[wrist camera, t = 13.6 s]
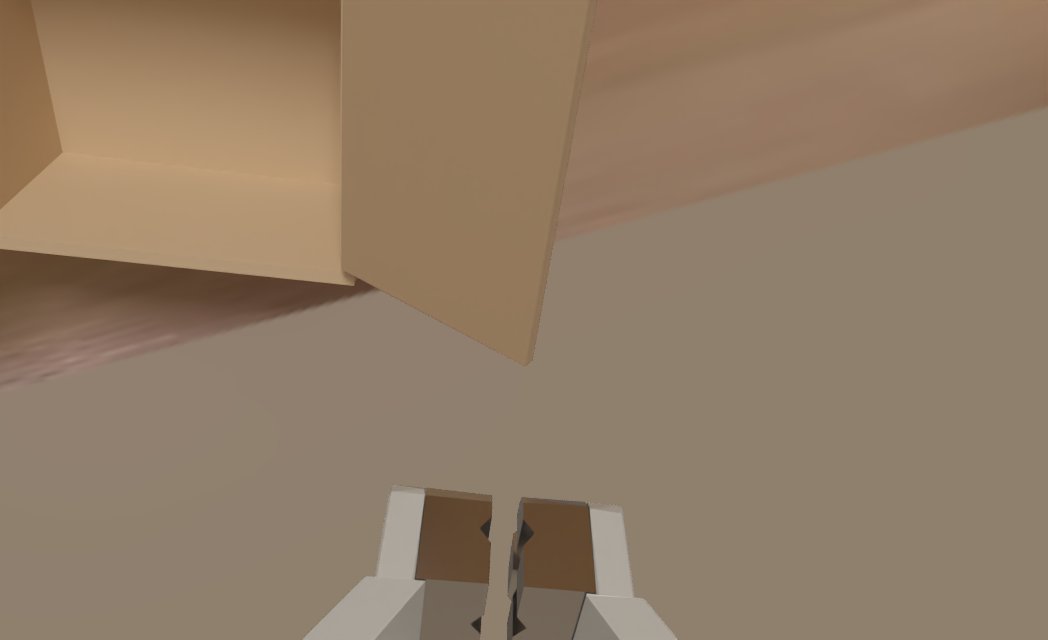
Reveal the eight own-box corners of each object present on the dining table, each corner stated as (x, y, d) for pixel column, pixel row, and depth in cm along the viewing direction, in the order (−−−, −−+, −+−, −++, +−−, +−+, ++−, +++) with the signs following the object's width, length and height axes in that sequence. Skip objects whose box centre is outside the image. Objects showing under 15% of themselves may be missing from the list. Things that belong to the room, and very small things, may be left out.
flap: (525, 366, 24) (532, 360, 25) (592, -18, 18) (600, -21, 18) (341, 269, 27) (349, 264, 28) (343, -91, 21) (354, -92, 21)
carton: (393, -162, 27) (361, -136, 21) (380, 194, 34) (354, 285, 28) (-24, -227, 25) (-179, -217, 20) (57, 157, 33) (-38, 244, 27)
